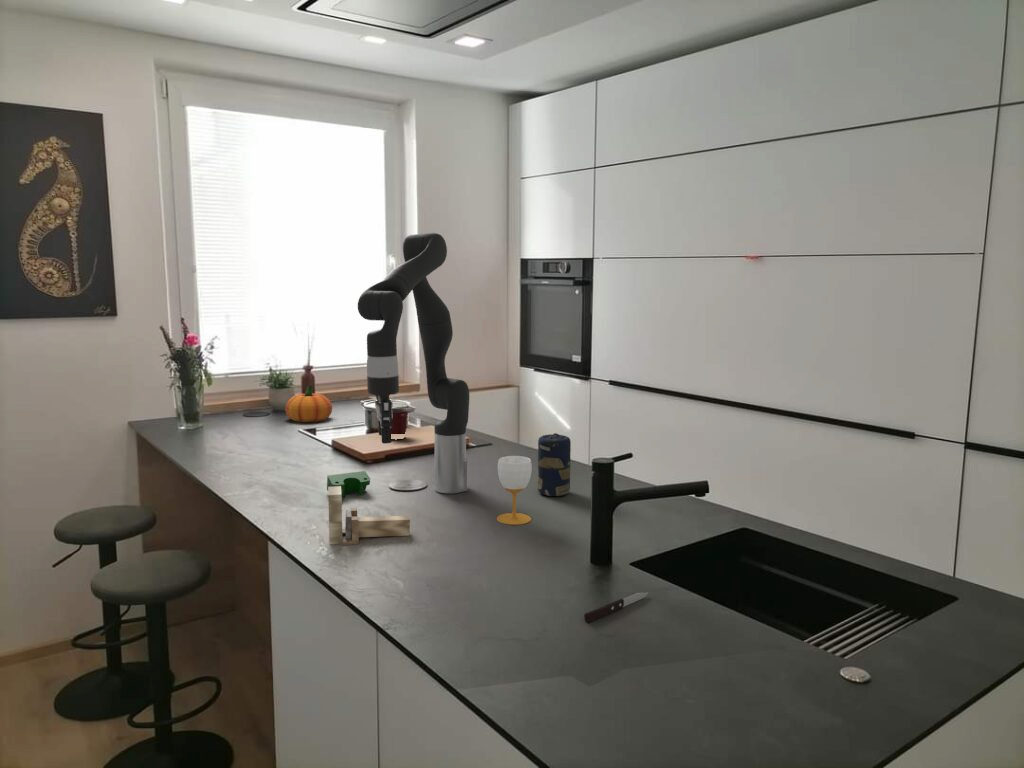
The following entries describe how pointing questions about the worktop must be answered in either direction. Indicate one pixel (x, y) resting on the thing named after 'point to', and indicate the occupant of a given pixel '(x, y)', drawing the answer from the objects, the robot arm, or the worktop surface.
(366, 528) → the light wooden bar
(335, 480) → the clamp
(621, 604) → the kitchen knife
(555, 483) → the canister
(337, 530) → the post block
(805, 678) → the worktop surface
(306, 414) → the pumpkin
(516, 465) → the cup
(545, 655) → the worktop surface
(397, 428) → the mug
